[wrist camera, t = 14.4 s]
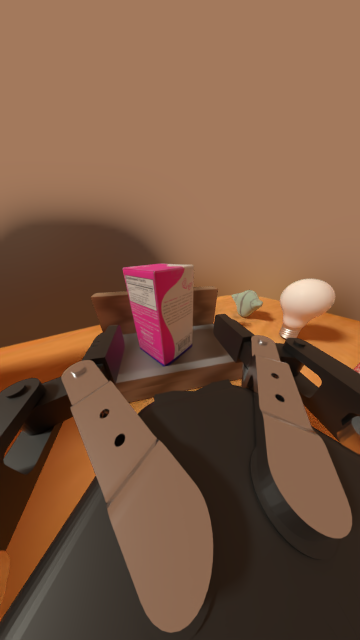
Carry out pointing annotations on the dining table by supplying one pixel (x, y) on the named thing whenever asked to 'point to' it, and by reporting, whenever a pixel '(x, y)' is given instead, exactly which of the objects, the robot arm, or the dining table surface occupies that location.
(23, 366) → the dining table surface
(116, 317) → the cleat board
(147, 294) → the supplement box
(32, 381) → the robot arm
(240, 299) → the pale green triangular piece
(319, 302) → the lightbulb
